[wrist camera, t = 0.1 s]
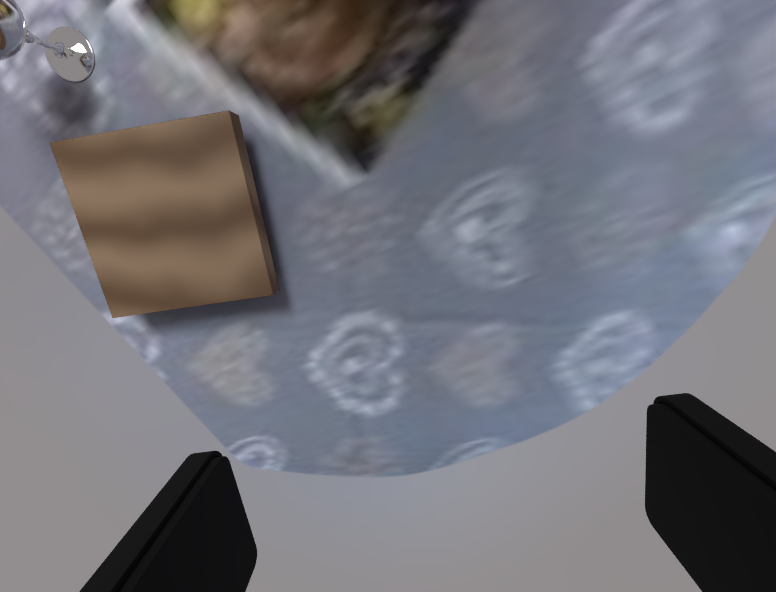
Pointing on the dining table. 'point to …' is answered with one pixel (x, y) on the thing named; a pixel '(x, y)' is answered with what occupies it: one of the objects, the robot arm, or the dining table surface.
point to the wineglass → (46, 44)
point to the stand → (169, 214)
